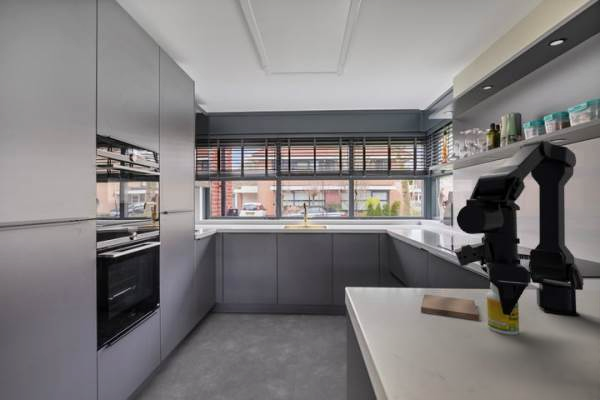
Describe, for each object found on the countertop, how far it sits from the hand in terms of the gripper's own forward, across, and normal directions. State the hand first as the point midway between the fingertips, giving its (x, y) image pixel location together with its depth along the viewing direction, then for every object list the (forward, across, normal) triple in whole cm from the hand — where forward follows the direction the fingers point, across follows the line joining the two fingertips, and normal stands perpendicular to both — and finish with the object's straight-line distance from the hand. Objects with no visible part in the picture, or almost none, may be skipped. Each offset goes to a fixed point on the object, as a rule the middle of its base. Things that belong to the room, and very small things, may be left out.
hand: (502, 307), depth 60 cm
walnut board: (+4, -10, -10) cm, 15 cm away
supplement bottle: (+5, 0, 0) cm, 5 cm away
